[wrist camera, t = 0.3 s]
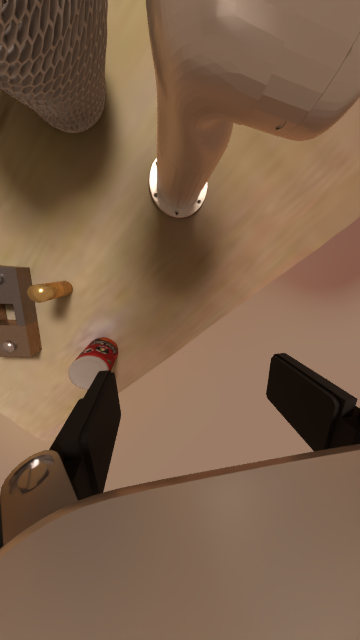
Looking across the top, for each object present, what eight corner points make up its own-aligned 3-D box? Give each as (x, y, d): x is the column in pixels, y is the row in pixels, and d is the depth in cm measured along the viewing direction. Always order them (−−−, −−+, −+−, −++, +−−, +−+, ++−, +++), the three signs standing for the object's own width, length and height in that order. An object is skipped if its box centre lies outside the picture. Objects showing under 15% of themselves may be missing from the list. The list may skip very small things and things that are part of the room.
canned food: (123, 344, 46) (114, 365, 36) (110, 367, 47) (98, 394, 37) (96, 331, 44) (77, 350, 34) (83, 356, 45) (62, 382, 35)
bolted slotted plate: (-13, 264, 37) (-36, 263, 32) (29, 267, 38) (12, 267, 34) (5, 348, 42) (-12, 357, 38) (41, 349, 43) (29, 358, 39)
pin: (57, 280, 39) (25, 284, 30) (72, 281, 40) (46, 285, 30) (58, 294, 40) (28, 302, 31) (73, 295, 41) (48, 303, 31)
